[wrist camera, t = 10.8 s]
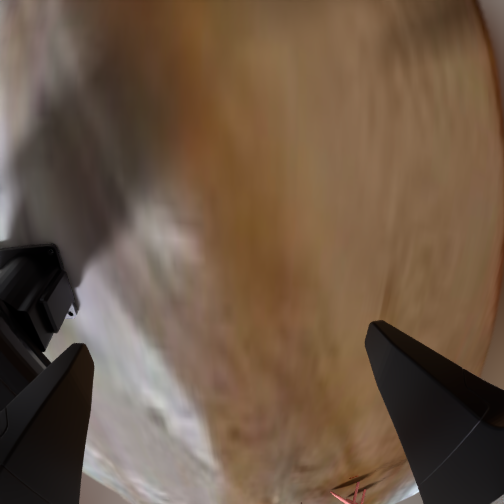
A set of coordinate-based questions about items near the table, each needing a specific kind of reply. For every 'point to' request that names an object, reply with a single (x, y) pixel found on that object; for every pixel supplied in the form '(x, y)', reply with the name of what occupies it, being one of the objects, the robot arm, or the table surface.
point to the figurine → (353, 503)
